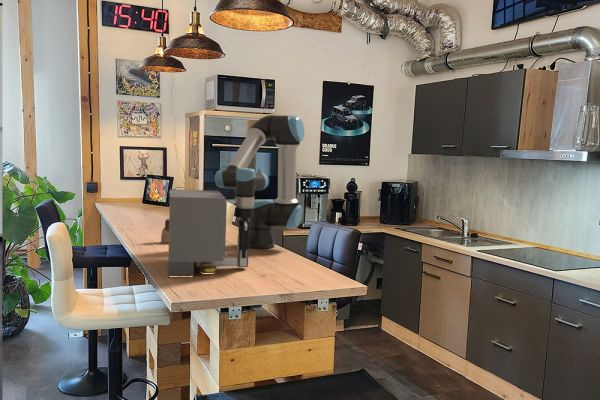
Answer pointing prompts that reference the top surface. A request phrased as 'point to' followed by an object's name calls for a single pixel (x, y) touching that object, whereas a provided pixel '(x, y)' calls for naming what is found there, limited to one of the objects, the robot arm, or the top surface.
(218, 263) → the grey l-shaped bracket
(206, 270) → the gold bowl
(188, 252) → the cabinet
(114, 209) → the top surface
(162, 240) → the figurine
